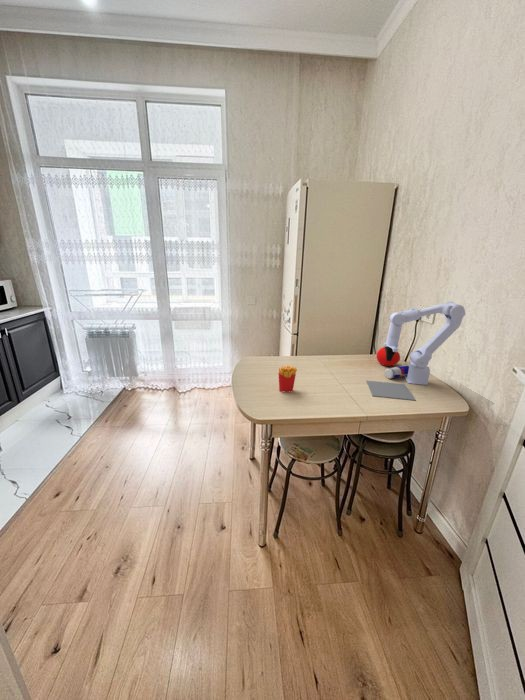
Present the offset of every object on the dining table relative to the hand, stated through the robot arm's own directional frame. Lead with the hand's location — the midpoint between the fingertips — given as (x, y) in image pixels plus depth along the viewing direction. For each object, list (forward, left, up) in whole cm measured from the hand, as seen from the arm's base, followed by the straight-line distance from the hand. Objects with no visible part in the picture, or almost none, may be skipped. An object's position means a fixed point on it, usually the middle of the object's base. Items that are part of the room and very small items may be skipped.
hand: (388, 360), depth 150 cm
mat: (+1, +15, -10) cm, 18 cm away
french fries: (+51, +26, -11) cm, 59 cm away
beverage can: (-1, 0, -8) cm, 8 cm away
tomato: (-6, -22, -11) cm, 25 cm away
